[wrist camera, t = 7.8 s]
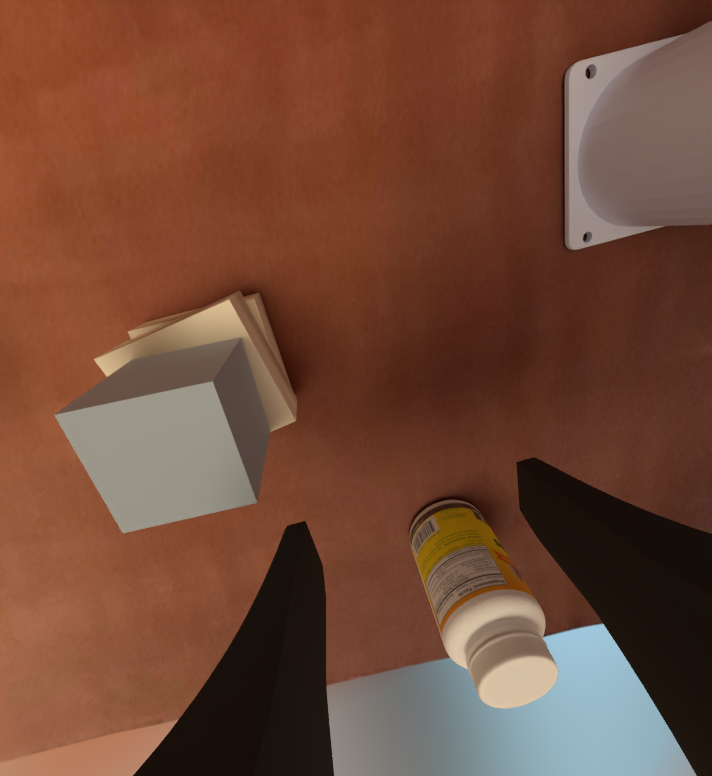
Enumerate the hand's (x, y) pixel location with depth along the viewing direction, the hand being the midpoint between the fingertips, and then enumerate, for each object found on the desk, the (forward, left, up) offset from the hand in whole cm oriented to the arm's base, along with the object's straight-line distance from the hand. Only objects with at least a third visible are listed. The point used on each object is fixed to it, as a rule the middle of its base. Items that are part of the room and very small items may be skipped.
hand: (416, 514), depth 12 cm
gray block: (+7, -4, -6) cm, 10 cm away
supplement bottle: (-3, +12, -11) cm, 16 cm away
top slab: (+7, -4, -8) cm, 12 cm away
